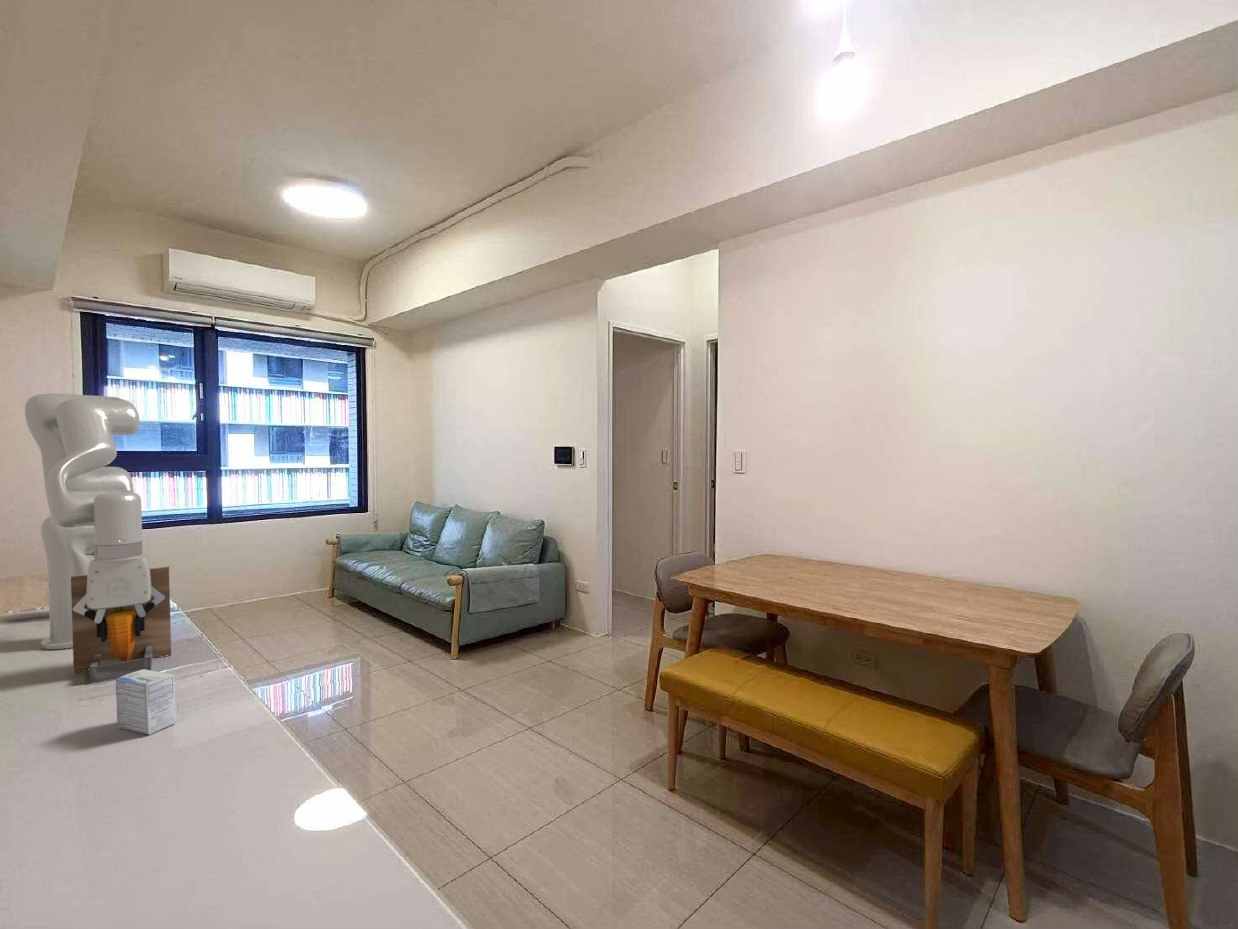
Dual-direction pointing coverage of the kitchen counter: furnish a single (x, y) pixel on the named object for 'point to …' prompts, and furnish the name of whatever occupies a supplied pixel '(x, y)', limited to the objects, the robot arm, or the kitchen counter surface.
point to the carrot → (121, 632)
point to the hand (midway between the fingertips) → (121, 636)
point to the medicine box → (145, 701)
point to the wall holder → (100, 654)
